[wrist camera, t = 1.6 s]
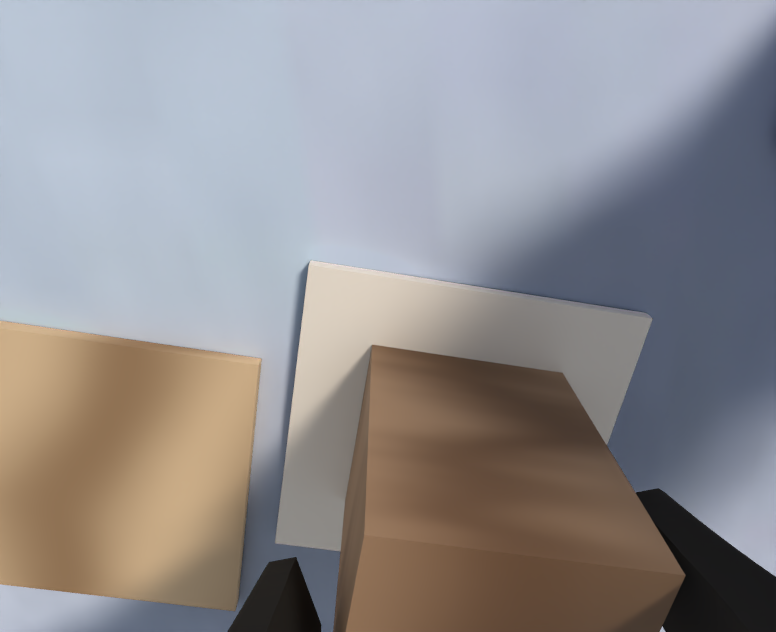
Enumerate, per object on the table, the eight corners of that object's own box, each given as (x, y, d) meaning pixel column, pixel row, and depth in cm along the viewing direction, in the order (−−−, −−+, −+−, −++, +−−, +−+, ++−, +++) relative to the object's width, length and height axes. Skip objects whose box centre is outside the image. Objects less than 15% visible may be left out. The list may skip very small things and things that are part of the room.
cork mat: (261, 358, 16) (258, 365, 16) (238, 601, 20) (235, 611, 19) (-81, 309, 16) (-92, 314, 15) (-45, 568, 19) (-54, 577, 19)
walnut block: (562, 372, 16) (686, 575, 9) (515, 524, 18) (591, 779, 11) (372, 344, 16) (364, 535, 9) (345, 502, 18) (321, 752, 11)
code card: (646, 313, 16) (653, 319, 15) (555, 568, 19) (559, 578, 19) (310, 260, 15) (308, 265, 15) (277, 534, 18) (274, 543, 18)
